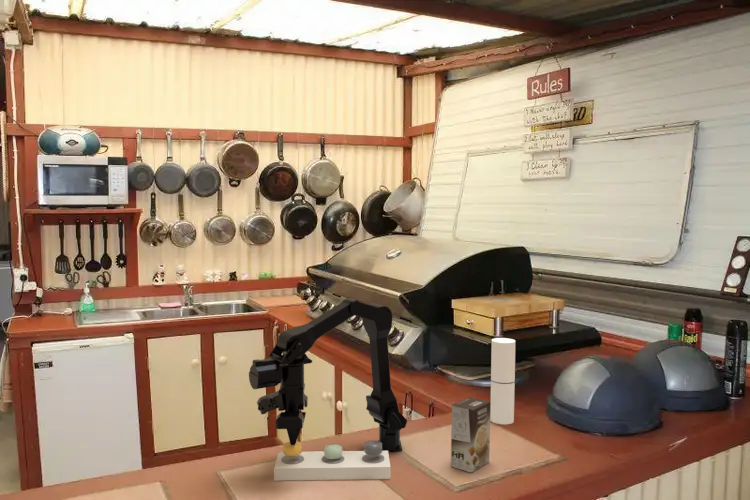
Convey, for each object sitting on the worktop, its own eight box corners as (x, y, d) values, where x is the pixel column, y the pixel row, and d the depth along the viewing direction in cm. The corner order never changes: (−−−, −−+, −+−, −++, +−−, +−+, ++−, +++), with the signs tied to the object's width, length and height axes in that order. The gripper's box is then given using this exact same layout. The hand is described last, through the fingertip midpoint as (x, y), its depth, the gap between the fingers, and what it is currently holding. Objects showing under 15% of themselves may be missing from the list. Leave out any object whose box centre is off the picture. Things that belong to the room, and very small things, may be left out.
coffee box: (472, 473, 153) (473, 410, 152) (450, 466, 157) (450, 404, 156) (490, 461, 160) (491, 401, 159) (468, 455, 164) (469, 396, 163)
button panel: (278, 463, 159) (278, 451, 158) (388, 461, 160) (388, 449, 159) (274, 480, 149) (273, 467, 148) (390, 479, 150) (390, 466, 150)
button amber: (284, 450, 156) (284, 441, 155) (302, 450, 156) (302, 441, 156) (282, 457, 151) (282, 448, 151) (300, 457, 151) (300, 448, 151)
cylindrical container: (487, 422, 190) (488, 341, 188) (494, 415, 196) (495, 337, 194) (510, 425, 186) (511, 344, 184) (516, 418, 193) (518, 339, 191)
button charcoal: (364, 449, 156) (364, 440, 156) (381, 449, 157) (381, 440, 156) (364, 456, 152) (364, 447, 152) (382, 456, 152) (382, 447, 152)
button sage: (324, 453, 156) (324, 444, 156) (342, 453, 156) (342, 444, 156) (323, 460, 152) (323, 451, 151) (341, 460, 152) (341, 451, 152)
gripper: (264, 372, 161) (265, 431, 162) (253, 394, 143) (254, 460, 144) (307, 372, 162) (308, 430, 163) (302, 394, 143) (302, 459, 144)
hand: (292, 444), depth 153 cm, fingers closed
